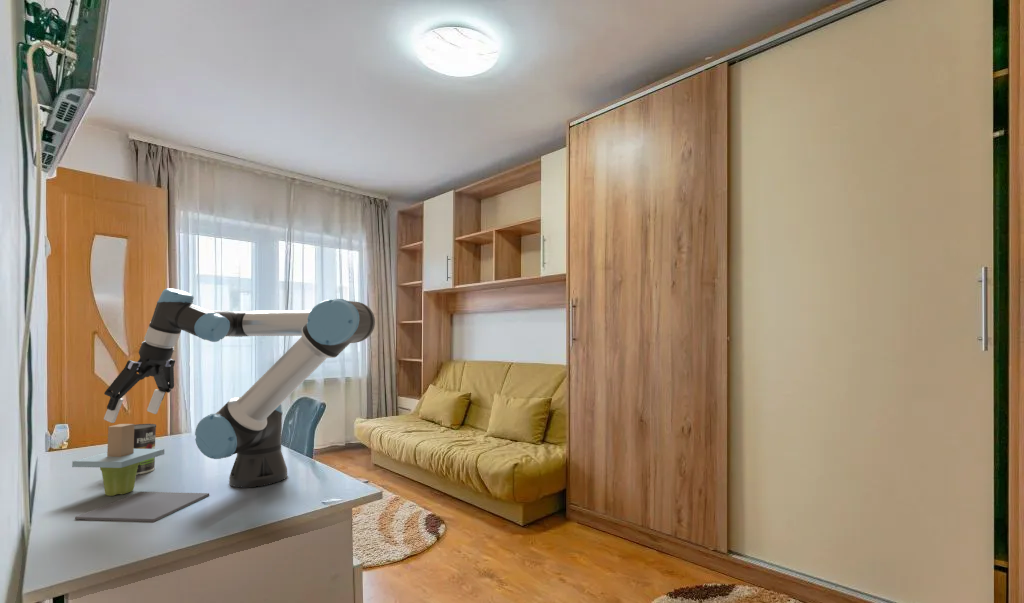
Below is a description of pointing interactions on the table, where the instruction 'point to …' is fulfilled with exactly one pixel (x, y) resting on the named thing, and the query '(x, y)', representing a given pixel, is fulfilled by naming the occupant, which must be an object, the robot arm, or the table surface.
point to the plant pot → (119, 479)
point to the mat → (143, 506)
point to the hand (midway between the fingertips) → (131, 416)
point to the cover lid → (119, 450)
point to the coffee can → (145, 445)
